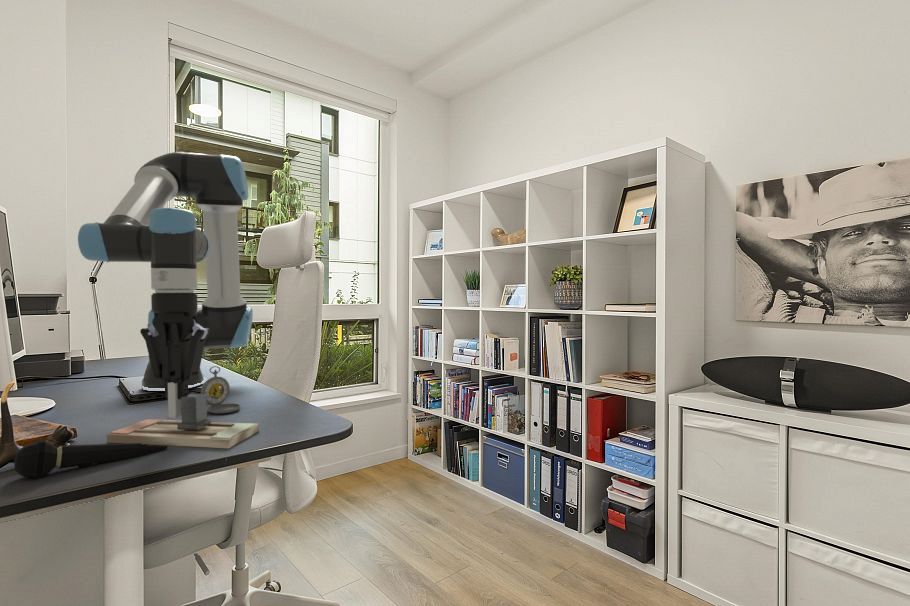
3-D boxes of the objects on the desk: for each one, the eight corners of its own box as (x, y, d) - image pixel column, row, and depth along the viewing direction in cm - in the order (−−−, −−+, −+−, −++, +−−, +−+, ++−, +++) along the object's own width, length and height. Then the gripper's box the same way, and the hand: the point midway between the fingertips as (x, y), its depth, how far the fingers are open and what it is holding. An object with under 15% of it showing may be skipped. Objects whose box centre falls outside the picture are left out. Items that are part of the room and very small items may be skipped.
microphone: (162, 465, 86) (10, 482, 73) (163, 432, 88) (15, 442, 74) (170, 463, 82) (12, 481, 69) (171, 429, 84) (17, 439, 70)
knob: (191, 423, 94) (191, 392, 94) (210, 424, 93) (210, 393, 93) (177, 429, 90) (176, 397, 90) (197, 430, 90) (196, 398, 89)
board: (148, 426, 99) (148, 417, 98) (258, 431, 96) (258, 421, 95) (106, 442, 89) (106, 432, 89) (228, 448, 86) (228, 437, 86)
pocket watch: (232, 415, 107) (231, 370, 107) (194, 415, 107) (193, 370, 107) (248, 405, 116) (247, 364, 115) (212, 405, 116) (212, 364, 115)
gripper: (127, 291, 88) (130, 419, 89) (193, 292, 87) (195, 422, 87) (158, 291, 96) (160, 409, 97) (218, 291, 94) (220, 411, 95)
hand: (176, 415), depth 92 cm, fingers closed
